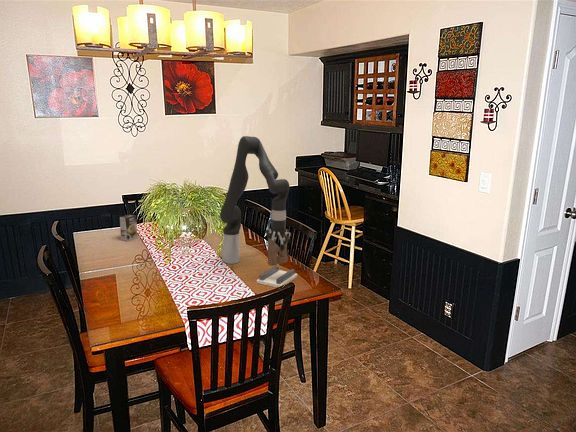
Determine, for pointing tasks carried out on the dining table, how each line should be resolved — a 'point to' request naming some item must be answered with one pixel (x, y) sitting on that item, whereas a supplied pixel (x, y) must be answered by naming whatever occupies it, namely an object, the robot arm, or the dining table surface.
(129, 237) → the coffee box
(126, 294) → the dining table surface
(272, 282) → the slotted base
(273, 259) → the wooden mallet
